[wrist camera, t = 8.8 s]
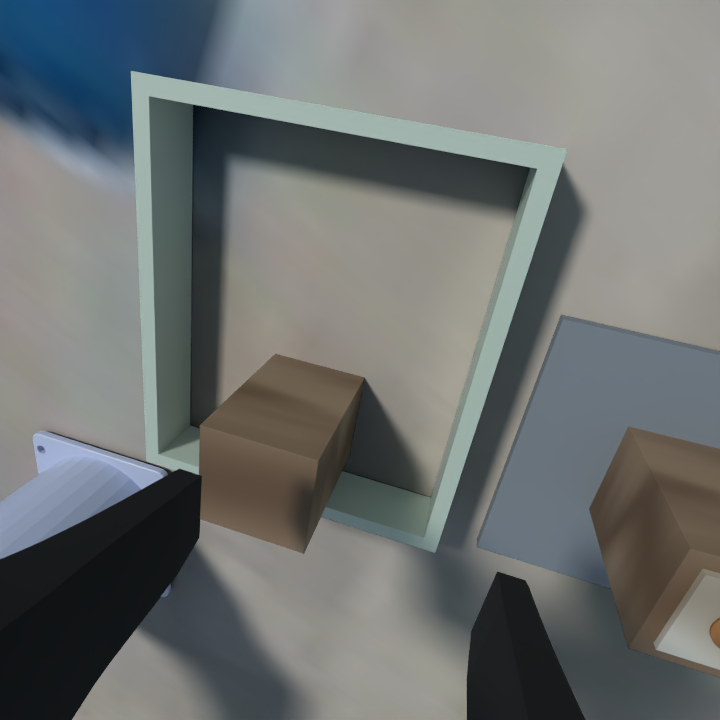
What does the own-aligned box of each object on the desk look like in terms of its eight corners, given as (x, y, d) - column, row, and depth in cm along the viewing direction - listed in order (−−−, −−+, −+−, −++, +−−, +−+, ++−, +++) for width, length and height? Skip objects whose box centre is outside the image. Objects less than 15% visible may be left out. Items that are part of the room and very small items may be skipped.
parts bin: (441, 511, 21) (435, 553, 19) (179, 431, 23) (146, 461, 21) (555, 149, 15) (567, 149, 13) (178, 81, 17) (130, 71, 15)
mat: (737, 619, 20) (743, 630, 19) (477, 539, 22) (476, 547, 21) (912, 396, 15) (925, 403, 15) (561, 314, 17) (563, 319, 16)
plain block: (350, 454, 22) (304, 553, 16) (268, 430, 22) (198, 518, 17) (364, 377, 20) (318, 460, 14) (275, 353, 20) (199, 425, 15)
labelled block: (695, 538, 18) (786, 708, 13) (589, 508, 19) (630, 658, 13) (747, 455, 17) (879, 609, 11) (628, 426, 17) (694, 557, 12)
